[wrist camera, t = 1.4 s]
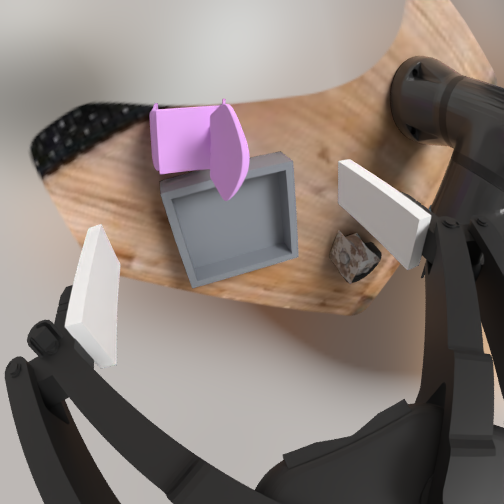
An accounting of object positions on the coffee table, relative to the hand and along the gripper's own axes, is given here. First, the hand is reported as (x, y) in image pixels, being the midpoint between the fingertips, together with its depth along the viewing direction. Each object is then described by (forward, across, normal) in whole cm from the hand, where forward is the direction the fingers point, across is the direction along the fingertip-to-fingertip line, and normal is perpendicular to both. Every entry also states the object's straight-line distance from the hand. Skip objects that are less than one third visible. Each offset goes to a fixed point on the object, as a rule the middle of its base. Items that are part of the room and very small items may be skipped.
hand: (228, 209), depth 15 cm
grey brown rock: (+22, -24, +27) cm, 42 cm away
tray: (+22, -3, +14) cm, 26 cm away
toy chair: (+22, 0, 0) cm, 23 cm away
